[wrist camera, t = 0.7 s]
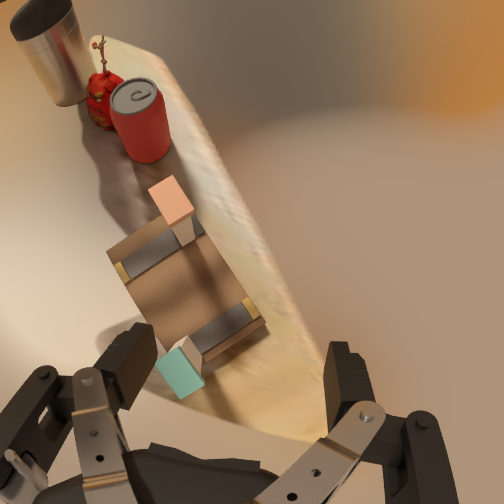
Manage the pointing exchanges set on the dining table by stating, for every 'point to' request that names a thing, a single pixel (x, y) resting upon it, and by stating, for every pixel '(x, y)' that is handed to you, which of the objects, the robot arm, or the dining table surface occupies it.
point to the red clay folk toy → (101, 93)
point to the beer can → (140, 119)
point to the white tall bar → (174, 208)
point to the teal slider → (182, 367)
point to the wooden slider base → (184, 288)
